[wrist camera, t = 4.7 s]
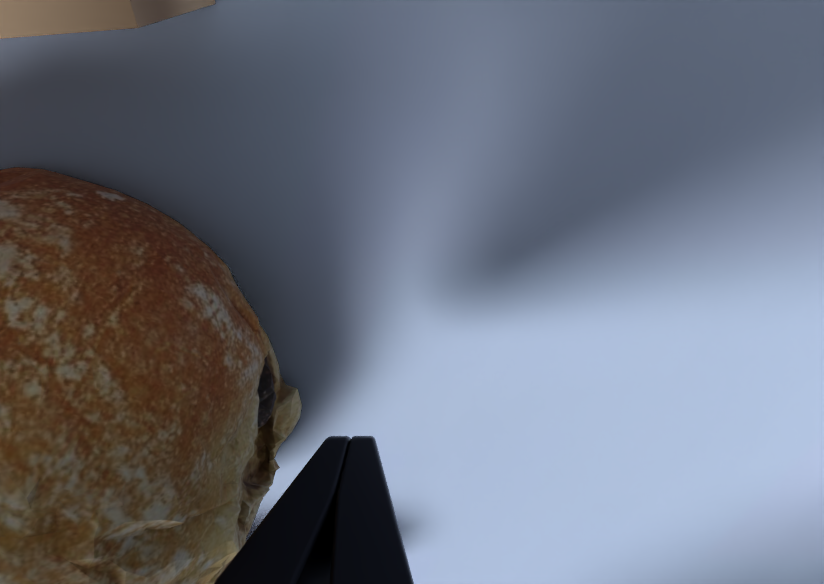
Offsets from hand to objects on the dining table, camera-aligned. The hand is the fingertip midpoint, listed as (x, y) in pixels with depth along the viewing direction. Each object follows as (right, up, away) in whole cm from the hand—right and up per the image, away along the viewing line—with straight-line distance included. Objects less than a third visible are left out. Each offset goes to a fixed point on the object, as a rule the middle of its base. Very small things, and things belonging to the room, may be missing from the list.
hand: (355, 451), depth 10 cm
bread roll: (-7, +1, +3) cm, 7 cm away
